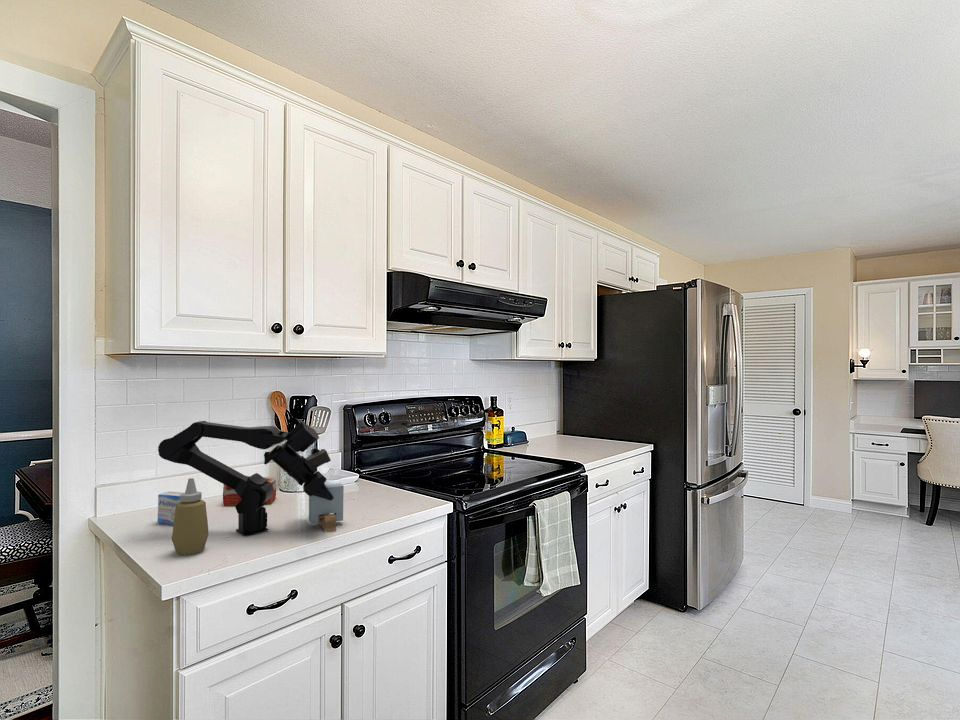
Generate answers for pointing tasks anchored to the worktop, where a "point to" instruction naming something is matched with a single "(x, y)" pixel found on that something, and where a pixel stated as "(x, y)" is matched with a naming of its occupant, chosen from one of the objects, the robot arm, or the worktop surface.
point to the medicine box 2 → (233, 499)
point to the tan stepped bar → (327, 522)
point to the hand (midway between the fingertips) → (331, 497)
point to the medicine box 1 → (167, 507)
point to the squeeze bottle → (190, 522)
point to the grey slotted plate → (327, 504)
